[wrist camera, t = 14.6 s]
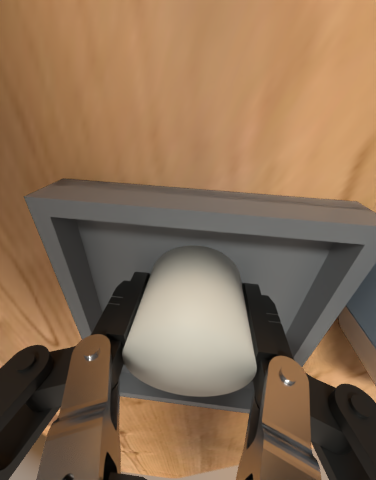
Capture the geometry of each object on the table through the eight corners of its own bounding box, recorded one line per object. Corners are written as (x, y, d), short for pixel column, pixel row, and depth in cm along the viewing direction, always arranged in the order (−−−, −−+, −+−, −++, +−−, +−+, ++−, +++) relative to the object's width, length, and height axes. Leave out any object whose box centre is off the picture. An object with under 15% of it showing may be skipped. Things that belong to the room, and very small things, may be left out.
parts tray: (115, 363, 20) (104, 394, 18) (63, 178, 10) (23, 196, 8) (261, 382, 19) (267, 415, 17) (357, 201, 9) (400, 228, 7)
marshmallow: (153, 306, 13) (129, 388, 9) (149, 240, 10) (112, 318, 6) (232, 315, 13) (241, 402, 9) (249, 250, 10) (274, 336, 6)
